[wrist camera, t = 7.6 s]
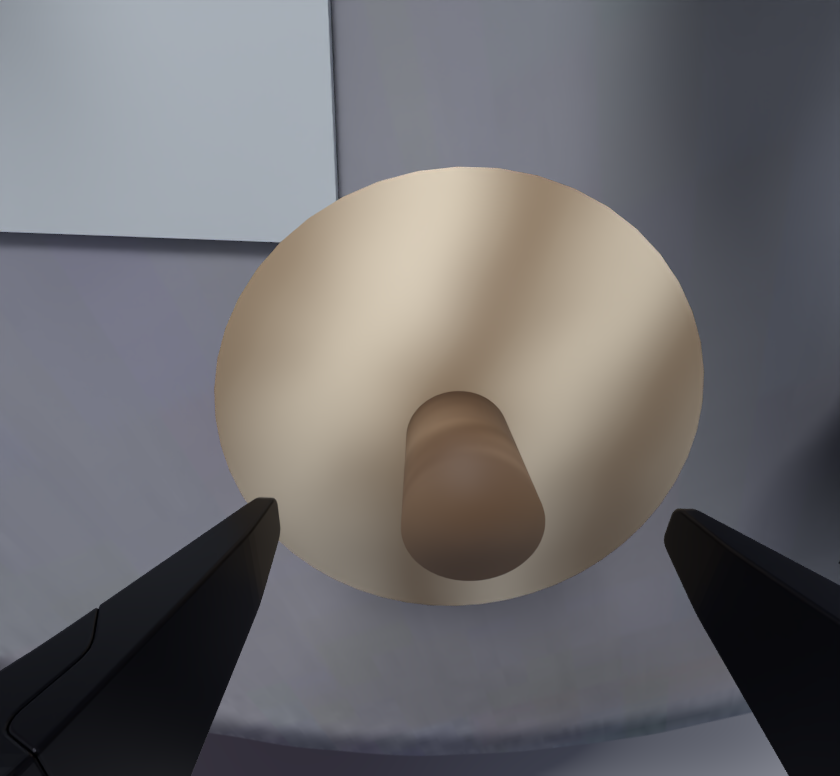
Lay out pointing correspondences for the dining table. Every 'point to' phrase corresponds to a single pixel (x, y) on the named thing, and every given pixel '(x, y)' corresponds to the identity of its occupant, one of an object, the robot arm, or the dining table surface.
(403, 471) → the lid
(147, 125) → the mat
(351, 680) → the dining table surface
